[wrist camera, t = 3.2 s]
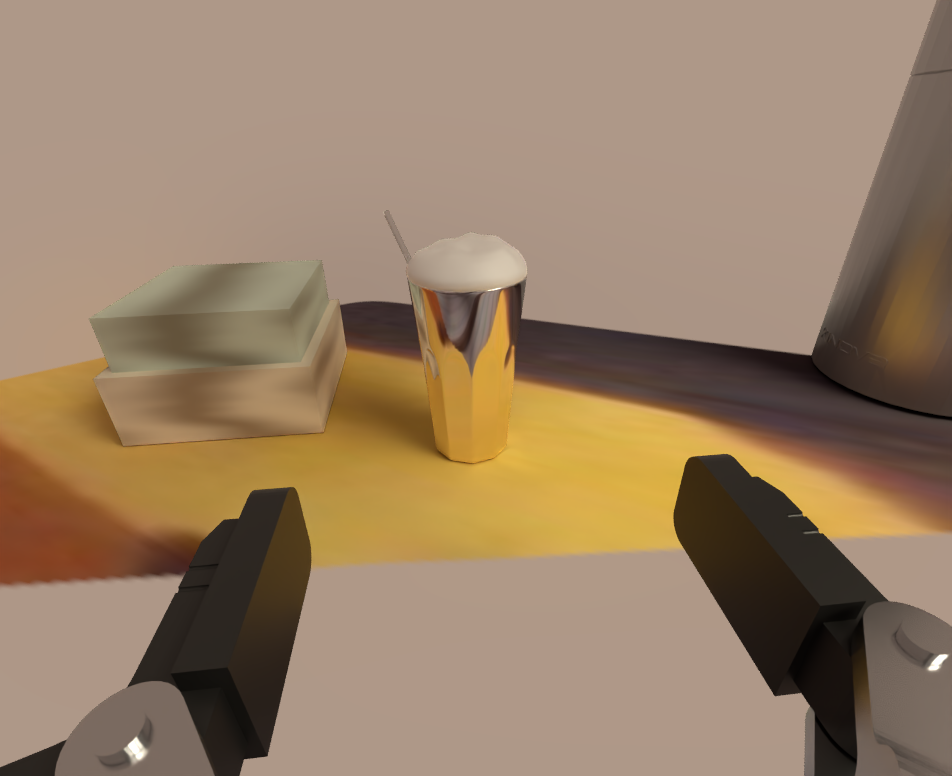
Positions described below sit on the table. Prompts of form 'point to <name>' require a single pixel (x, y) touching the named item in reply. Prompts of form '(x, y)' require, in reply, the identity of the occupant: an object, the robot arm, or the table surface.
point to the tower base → (229, 396)
